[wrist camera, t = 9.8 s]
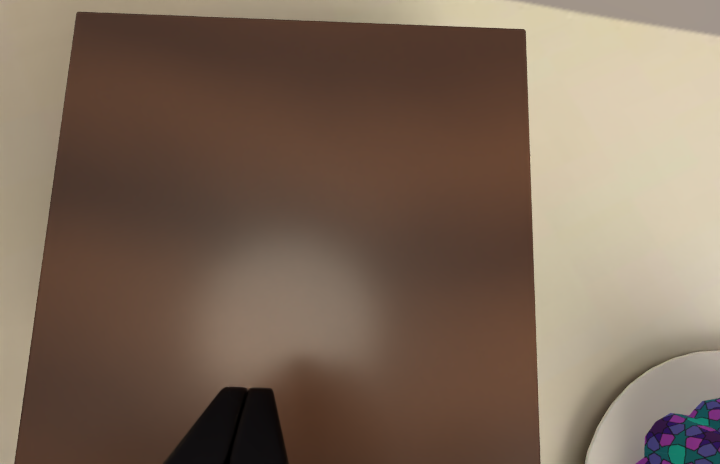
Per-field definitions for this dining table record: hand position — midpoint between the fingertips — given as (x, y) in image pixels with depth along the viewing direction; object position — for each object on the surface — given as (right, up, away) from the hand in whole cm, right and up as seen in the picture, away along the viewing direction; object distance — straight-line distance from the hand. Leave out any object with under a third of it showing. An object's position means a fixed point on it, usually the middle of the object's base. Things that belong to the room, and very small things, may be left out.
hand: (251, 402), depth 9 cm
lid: (0, +3, +6) cm, 7 cm away
